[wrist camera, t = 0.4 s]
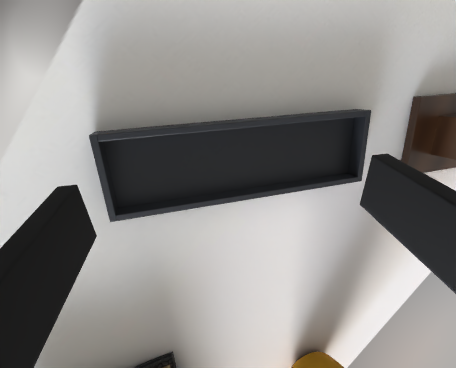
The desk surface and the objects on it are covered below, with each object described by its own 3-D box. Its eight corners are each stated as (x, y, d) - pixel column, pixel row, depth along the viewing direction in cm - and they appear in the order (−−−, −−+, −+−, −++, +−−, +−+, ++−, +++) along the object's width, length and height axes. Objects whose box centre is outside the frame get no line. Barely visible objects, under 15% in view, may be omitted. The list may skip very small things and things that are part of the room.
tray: (113, 212, 26) (110, 222, 24) (94, 131, 23) (88, 135, 21) (348, 175, 32) (361, 181, 30) (356, 109, 29) (371, 110, 27)
